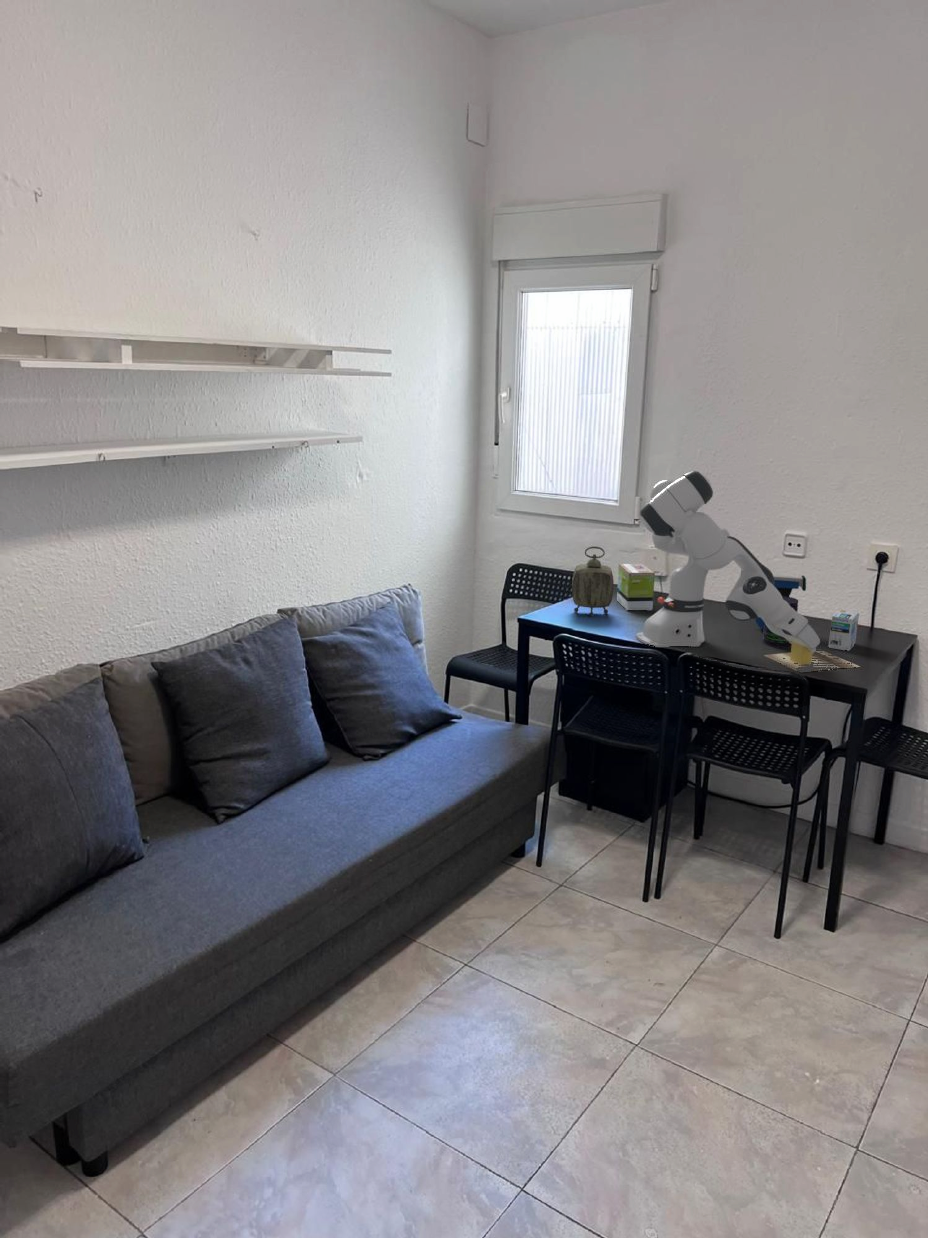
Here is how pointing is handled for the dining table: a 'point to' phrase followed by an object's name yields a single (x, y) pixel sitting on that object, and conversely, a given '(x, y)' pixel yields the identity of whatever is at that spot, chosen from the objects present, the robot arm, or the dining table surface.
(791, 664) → the plywood sheet
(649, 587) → the tea box
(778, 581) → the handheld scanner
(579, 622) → the dining table surface
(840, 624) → the light bulb box
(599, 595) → the tabletop clock
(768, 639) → the storage jar
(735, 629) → the dining table surface
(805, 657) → the yellow rectangular block
